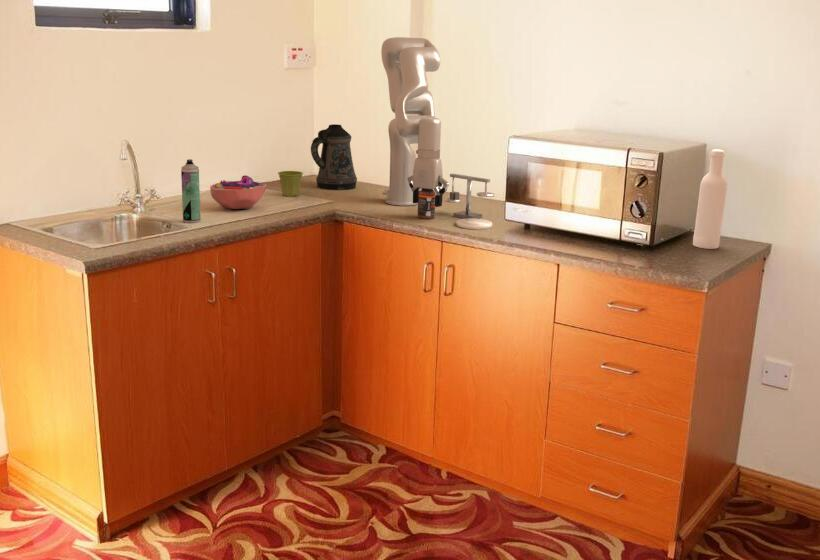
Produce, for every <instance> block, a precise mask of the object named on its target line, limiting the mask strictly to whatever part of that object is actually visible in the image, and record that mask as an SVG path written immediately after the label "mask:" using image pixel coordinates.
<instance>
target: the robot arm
mask: <svg viewBox="0 0 820 560" xmlns="http://www.w3.org/2000/svg"><path fill="white" fill-rule="evenodd" d="M381 61H382V64H383V67H384V70H385V73H386V76H387V82H388V83H387V84H388V95H389V105H390V109H391V112H392V113H394V115H395V117H394V118H393V119H391V120H390V122H389V124H388V129H387V130H388V131H387V132H388V137H389V149H390V151H389V158H390V159H389V189H388V188H385V189H384V190H382V193H381V194H382V195H384V196H385V195H386V198H385V199H384V203H385V204H388V205H391V206H399V207H400V206H409V207H410V206H414V205H418V195H419V192H420V191H421V190H420V189H422V188H425V189H433V191H434V192H435V193H436V195H435V208H438V207H439V208H440V207H442V206H443V195H445V193H446V192H447V191H448V188H449V185H450V182H448V181H447V180H446V179H445V178H443V164H442V159H440V158H441V157H440V156H441V134H442V133H441V131H442V130H441V128H442V121H441V119H440V118H438V117H436V116H435V106H434V98H433V95H432V93H431V91H430V90H429V83H428V78H427V73H426V72H430V73H432V72H434V73H435V72H437V71H438V70H439V68H440V65H441V56H440V53H439V51H438V49H437V47H436V46H435V45H434V44H433V43H432V42H431V41H430V40H429V39H427V38H424V37H407V36H405V37H403V36H402V37H400V36H397V37H390V38H386V39H385V40H384V41H383V43H382V45H381ZM412 144H417V149H416V150H415V151H414V150H413V148H412V147H411V145H412ZM416 155H417V157H416Z"/></svg>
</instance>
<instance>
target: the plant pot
mask: <svg viewBox="0 0 820 560" xmlns="http://www.w3.org/2000/svg"><path fill="white" fill-rule="evenodd" d="M303 174H304V172H303V171H298V170H283V171H278V172H277V175H278V176H279V179H280V186H281V187H280V188H281V193H282V196H285V197H291V198H292V197H294V196H296V197H298V196H299V194H300V188H301V187H300V186H301V180H302V177H303Z"/></svg>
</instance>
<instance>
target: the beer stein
mask: <svg viewBox="0 0 820 560" xmlns="http://www.w3.org/2000/svg"><path fill="white" fill-rule="evenodd" d="M351 141H352V135H351V134H350V133H349V132H348V131H347V130H345V129H344V128H343V126H342V124H334V123H333V124H329V125H328V127H327V128H325V129H321V130H319V131H318V132H317V137H314V138H313V139H312V141H311V142H312V143H311V145H310V153H311V157H312V160H313V161H314V162H315V165H317V166H318V167H319V168H318V173H317V176H316V178H315V181H316V185H317V188H319V189H322V190H328V191H349V190H353V189H356V186H357V182H358V177H357V174H356V172H355V167H354V163H353V156H352V149H351ZM321 144H322V147H321V151H320V152H321V153H320V155H319V147H320V145H321Z"/></svg>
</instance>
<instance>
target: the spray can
mask: <svg viewBox="0 0 820 560" xmlns="http://www.w3.org/2000/svg"><path fill="white" fill-rule="evenodd" d="M193 161H194V160H193V159H191V158H190V159H186V163H185V165H183V166H181V168H180V169H181V170H180V172H181V174H180V176H181V197H182V198H181V201H182V204H181V205H182V222H183V223H185V224H195V223H200V222H201V193H200V192H201V191H200V170H199V166H197V165H196V164H195V163H194V162H193Z"/></svg>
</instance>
